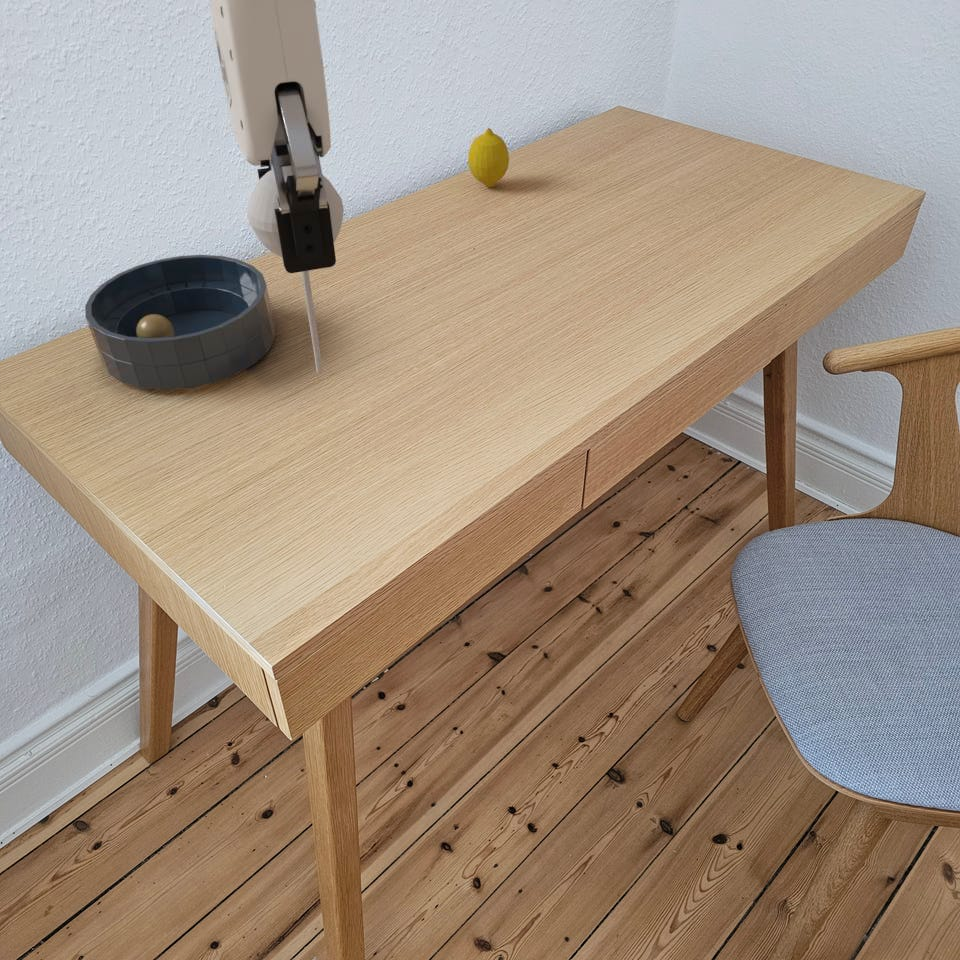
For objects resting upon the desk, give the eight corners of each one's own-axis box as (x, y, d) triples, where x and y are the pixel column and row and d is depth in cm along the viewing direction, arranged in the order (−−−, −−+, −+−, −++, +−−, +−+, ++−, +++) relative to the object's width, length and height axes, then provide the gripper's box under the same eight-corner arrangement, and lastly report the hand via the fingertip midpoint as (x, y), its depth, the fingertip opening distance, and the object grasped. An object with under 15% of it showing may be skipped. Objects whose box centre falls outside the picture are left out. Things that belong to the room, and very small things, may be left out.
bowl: (107, 411, 79) (86, 356, 75) (101, 322, 91) (83, 271, 88) (290, 372, 84) (279, 319, 80) (261, 293, 96) (251, 243, 92)
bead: (142, 360, 85) (132, 328, 82) (140, 342, 87) (130, 311, 85) (180, 352, 86) (170, 321, 83) (176, 335, 88) (167, 304, 86)
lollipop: (324, 341, 65) (296, 143, 56) (378, 367, 63) (358, 164, 53) (260, 375, 62) (219, 170, 52) (315, 405, 59) (281, 194, 49)
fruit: (460, 186, 118) (458, 127, 113) (491, 176, 120) (491, 118, 115) (485, 198, 115) (485, 138, 109) (517, 188, 117) (517, 128, 112)
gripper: (165, -96, 49) (226, 204, 61) (193, -47, 37) (263, 318, 49) (293, -102, 51) (329, 190, 63) (361, -58, 39) (390, 296, 51)
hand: (300, 243), depth 56 cm, fingers closed on lollipop, 6 cm apart
